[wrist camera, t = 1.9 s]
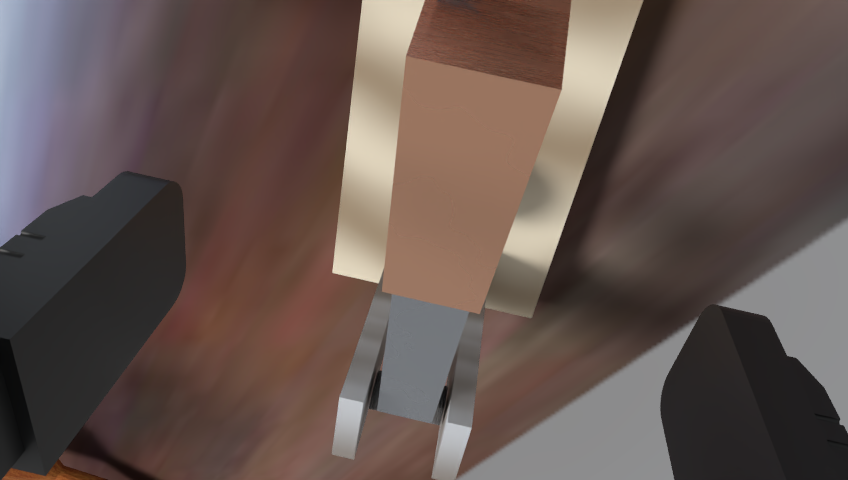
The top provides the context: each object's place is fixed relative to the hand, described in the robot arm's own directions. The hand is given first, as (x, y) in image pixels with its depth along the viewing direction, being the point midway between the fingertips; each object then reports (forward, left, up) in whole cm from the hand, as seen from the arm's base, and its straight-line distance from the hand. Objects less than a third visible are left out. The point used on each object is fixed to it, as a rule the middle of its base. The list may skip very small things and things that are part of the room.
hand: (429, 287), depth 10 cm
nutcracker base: (+4, 0, -18) cm, 19 cm away
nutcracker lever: (+4, 0, -9) cm, 9 cm away
